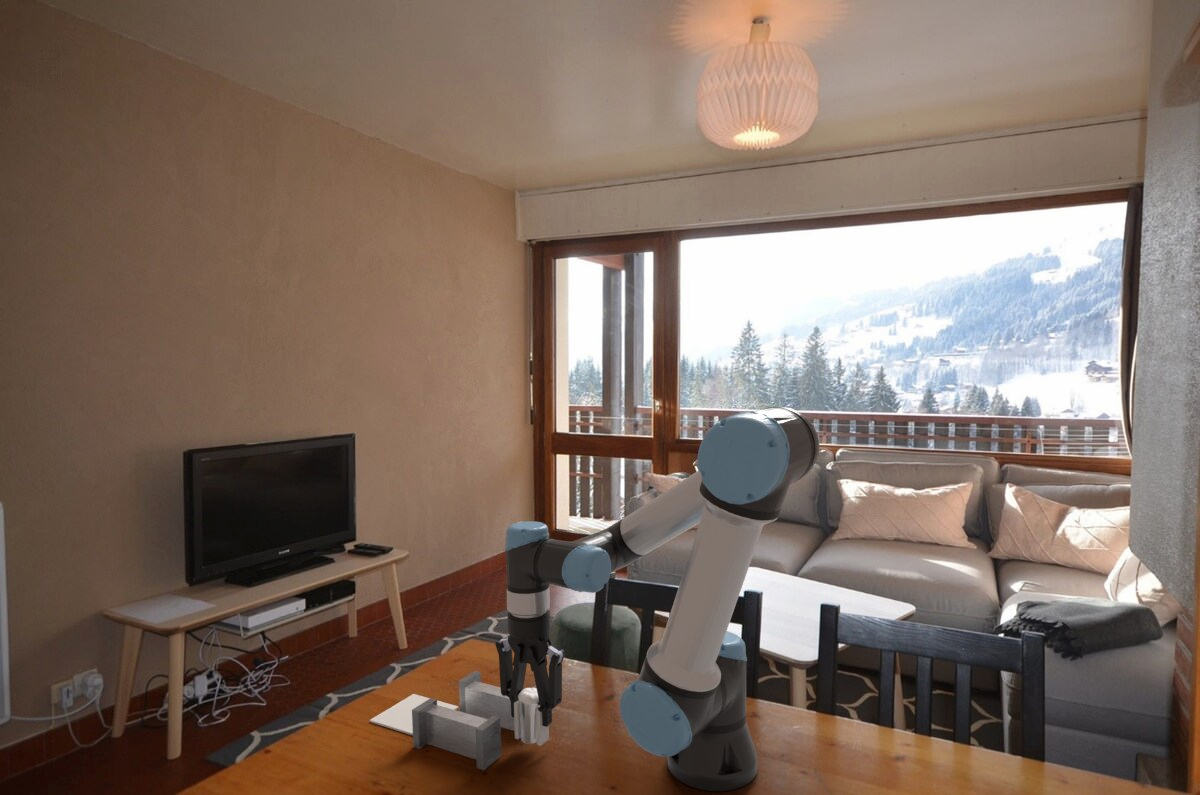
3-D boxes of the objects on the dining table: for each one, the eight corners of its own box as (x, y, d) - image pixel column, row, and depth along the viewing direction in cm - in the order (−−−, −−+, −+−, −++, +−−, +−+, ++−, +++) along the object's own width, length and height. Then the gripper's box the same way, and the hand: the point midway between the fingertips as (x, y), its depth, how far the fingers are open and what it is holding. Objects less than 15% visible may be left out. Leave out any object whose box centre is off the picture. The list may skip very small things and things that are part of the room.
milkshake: (543, 748, 128) (544, 694, 127) (514, 744, 129) (514, 690, 128) (550, 734, 133) (551, 681, 132) (521, 730, 134) (522, 678, 133)
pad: (458, 708, 147) (458, 706, 147) (416, 736, 136) (416, 734, 136) (413, 695, 153) (413, 693, 153) (369, 721, 142) (369, 719, 142)
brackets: (542, 722, 141) (541, 686, 140) (483, 770, 125) (482, 730, 125) (476, 704, 149) (474, 670, 148) (413, 747, 133) (411, 709, 132)
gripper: (581, 611, 128) (584, 740, 130) (502, 596, 137) (505, 717, 138) (558, 626, 122) (561, 761, 124) (476, 609, 130) (480, 736, 132)
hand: (531, 738), depth 131 cm, fingers closed on milkshake, 4 cm apart
